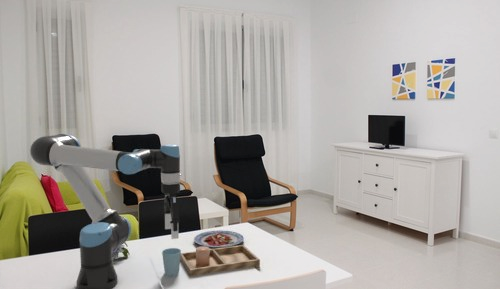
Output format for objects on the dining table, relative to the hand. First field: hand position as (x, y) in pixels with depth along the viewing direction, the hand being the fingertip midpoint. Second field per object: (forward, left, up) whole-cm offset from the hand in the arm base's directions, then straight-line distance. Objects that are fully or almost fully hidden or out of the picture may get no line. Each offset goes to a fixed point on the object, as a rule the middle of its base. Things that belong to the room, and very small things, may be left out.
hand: (171, 233), depth 168 cm
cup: (0, 0, -18) cm, 18 cm away
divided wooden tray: (+22, +5, -18) cm, 29 cm away
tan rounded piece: (+14, +5, -17) cm, 23 cm away
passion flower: (-21, +29, -18) cm, 40 cm away
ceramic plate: (+31, +33, -18) cm, 49 cm away
